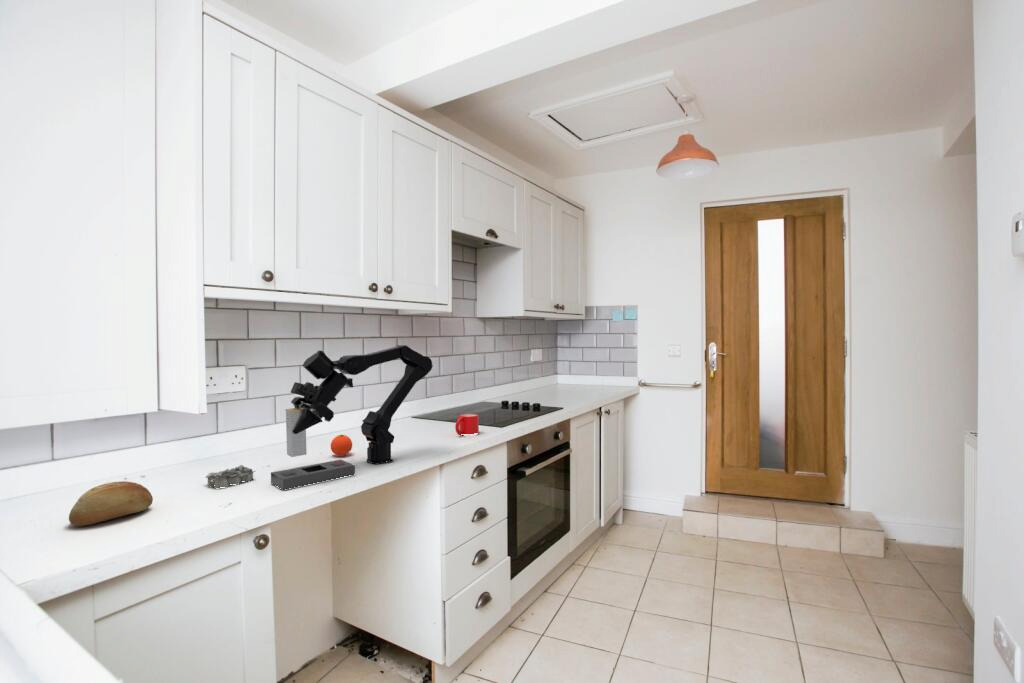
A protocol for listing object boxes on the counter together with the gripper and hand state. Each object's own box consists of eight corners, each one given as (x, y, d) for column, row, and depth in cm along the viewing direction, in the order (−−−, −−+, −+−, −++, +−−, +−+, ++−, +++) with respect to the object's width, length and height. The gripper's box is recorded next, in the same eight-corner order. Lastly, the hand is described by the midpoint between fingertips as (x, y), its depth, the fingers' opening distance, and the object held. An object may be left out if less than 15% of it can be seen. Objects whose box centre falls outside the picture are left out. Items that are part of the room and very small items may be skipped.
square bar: (301, 451, 145) (300, 407, 144) (307, 454, 142) (305, 409, 141) (286, 454, 142) (285, 409, 142) (291, 457, 139) (290, 410, 138)
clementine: (328, 453, 170) (328, 433, 169) (350, 451, 173) (349, 431, 173) (332, 459, 162) (331, 437, 162) (354, 456, 166) (353, 435, 165)
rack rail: (340, 469, 150) (340, 459, 150) (354, 475, 144) (354, 464, 144) (270, 483, 136) (270, 472, 136) (283, 490, 130) (283, 479, 130)
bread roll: (161, 512, 114) (161, 478, 114) (77, 534, 102) (77, 495, 102) (144, 504, 120) (143, 471, 120) (62, 524, 107) (62, 487, 107)
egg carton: (217, 491, 130) (217, 475, 130) (203, 486, 135) (203, 471, 134) (257, 480, 139) (257, 466, 139) (243, 476, 143) (242, 462, 143)
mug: (448, 436, 198) (448, 417, 197) (466, 431, 208) (466, 412, 208) (464, 439, 193) (464, 418, 193) (482, 433, 204) (482, 414, 203)
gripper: (297, 370, 151) (258, 410, 143) (321, 373, 137) (280, 419, 130) (323, 393, 156) (288, 433, 149) (349, 399, 143) (311, 443, 135)
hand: (291, 432), depth 141 cm, fingers closed on square bar, 4 cm apart
